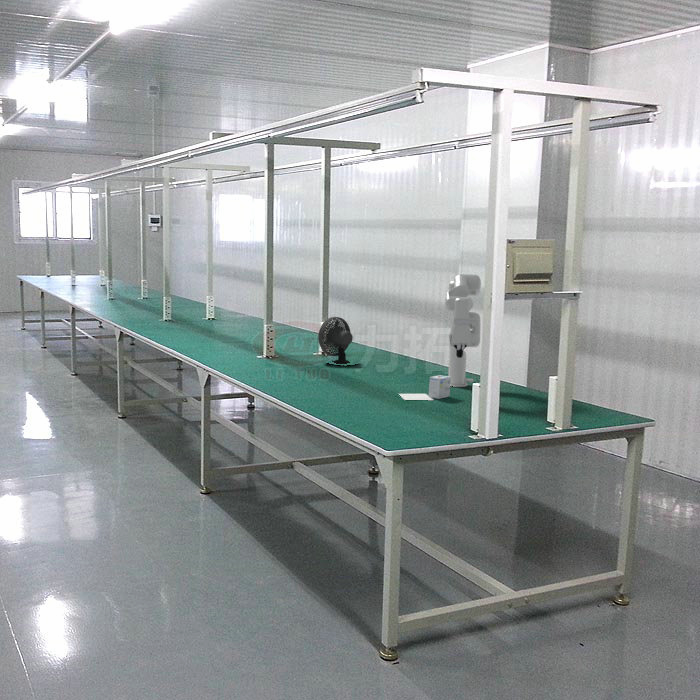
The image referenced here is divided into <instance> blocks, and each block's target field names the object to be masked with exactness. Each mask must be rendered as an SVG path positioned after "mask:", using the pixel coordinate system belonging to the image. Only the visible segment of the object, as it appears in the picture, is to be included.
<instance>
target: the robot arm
mask: <svg viewBox="0 0 700 700" xmlns="http://www.w3.org/2000/svg"><path fill="white" fill-rule="evenodd" d="M481 285H482V280H481V278H480V276H479V275H477V274H469V273H468V274H464V273H463V274H458V275H456V276H455V278H454V280H451V281H450V282H449V284H448V291H447V292H446V294H445V298H444V305H445V309H446V310H447V311H449V312H450V311H451V326H450V332H449V333H448V345H449V347H448V348H449V349H448V351H449V353H448V355H449V356H448V357H449V358H448V361H449V362H448V375H447V376H450V377H451V381H450V387H452V386H453V387H454V388H465V387H468V383H474V378H467V377H466V371H467V370H466V368H467V367H466V366H467V354H466V351H465V349H466V348H478V347H479V346H480V345H481V344H480V343H481V316H480V313H477V312H475V311H474V312H473V311H471V310H472V309H473V307H474V301H473V299H472V298H470V297H471V296H472V297H475V296H476V297H477V296H478V295H479V294H480V292H481V291H480V290H481ZM469 296H470V297H469Z"/></svg>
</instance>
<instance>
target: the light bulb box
mask: <svg viewBox="0 0 700 700" xmlns="http://www.w3.org/2000/svg"><path fill="white" fill-rule="evenodd" d="M450 381H451V377H450V376H448V375H443V374H439V375H434V376H433V375H432V376H430V377H429V386H428V396H429V397H431V398H432V399H437V400H440V399H445V398H448V397H450V391H451V386H450Z"/></svg>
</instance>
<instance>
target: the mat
mask: <svg viewBox="0 0 700 700" xmlns="http://www.w3.org/2000/svg"><path fill="white" fill-rule="evenodd" d="M398 394H399V395H400V396H401V397H400V396H399V395H398V396H399V397H400V398H402V399H403V400H404V401H405V400H428V401H434V398H431V397H429V394H427V393H398Z"/></svg>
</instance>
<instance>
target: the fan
mask: <svg viewBox="0 0 700 700" xmlns="http://www.w3.org/2000/svg"><path fill="white" fill-rule="evenodd" d="M353 337H354V336H353V334H352V333H351V328H350V326H349V323H348V322H347V321H346V320H345V319H343V318H342V317H339V316H332V317H329V318H327V319H326V320H324V321H323V323H322V324H321V325H320V328H319V331H318V338H317V339H318V343H319V348H320V349H321V350H322V352H323V353H324V354H326V355H327V356H332V357H337V356H338V359H334V360H335V361H333V360H331V361H332V362H334V363H336V364H347V363H350V362H349V361H350V360H348V359H347V356H346V355H347V353H346V350H347V349H348V347H349V345H350V344H352V342H353Z"/></svg>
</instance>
